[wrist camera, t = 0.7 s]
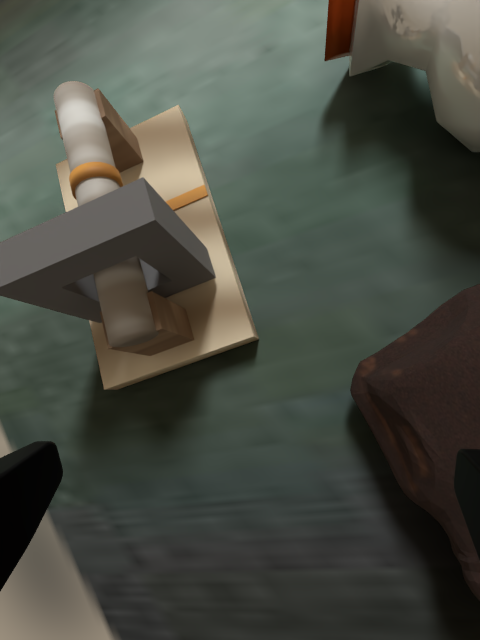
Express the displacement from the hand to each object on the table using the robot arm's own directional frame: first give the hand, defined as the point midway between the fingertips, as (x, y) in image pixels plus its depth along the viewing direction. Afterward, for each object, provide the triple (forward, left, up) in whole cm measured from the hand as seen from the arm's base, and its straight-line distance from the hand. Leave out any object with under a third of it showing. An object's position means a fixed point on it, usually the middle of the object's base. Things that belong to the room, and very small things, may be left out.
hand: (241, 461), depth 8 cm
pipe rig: (+4, +14, -14) cm, 20 cm away
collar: (+2, +11, -12) cm, 17 cm away
